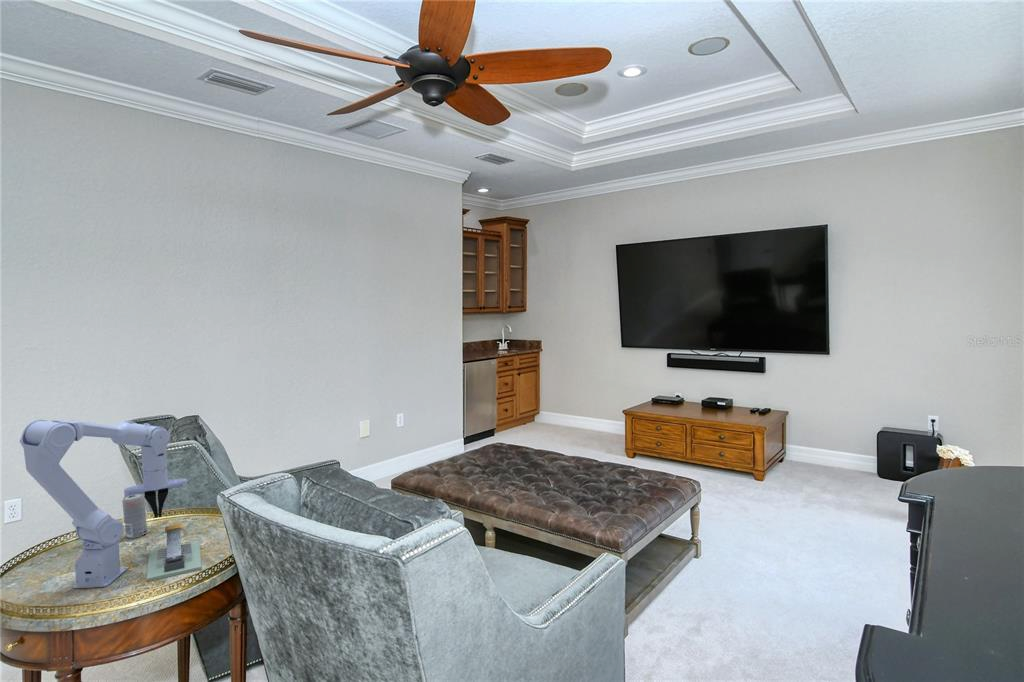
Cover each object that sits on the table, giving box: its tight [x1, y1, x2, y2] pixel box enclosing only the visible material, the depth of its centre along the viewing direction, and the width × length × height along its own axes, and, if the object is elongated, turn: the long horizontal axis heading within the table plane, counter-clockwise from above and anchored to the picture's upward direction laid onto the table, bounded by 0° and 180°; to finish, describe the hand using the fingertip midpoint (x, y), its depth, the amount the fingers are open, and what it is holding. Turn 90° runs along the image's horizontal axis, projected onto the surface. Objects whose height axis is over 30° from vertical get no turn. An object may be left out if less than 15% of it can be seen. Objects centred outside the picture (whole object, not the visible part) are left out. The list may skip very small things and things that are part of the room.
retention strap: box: [164, 523, 183, 563], centre depth 148 cm, size 13×4×1 cm, turn 31°
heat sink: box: [156, 542, 192, 568], centre depth 149 cm, size 8×8×2 cm
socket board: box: [146, 540, 202, 582], centre depth 149 cm, size 18×12×5 cm, turn 31°
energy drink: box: [121, 493, 148, 539], centre depth 166 cm, size 5×5×12 cm
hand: (158, 516), depth 154 cm, fingers closed
